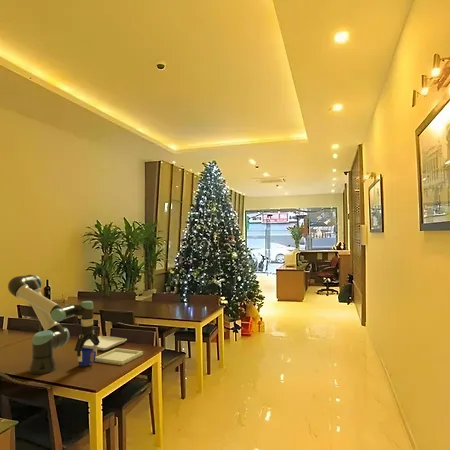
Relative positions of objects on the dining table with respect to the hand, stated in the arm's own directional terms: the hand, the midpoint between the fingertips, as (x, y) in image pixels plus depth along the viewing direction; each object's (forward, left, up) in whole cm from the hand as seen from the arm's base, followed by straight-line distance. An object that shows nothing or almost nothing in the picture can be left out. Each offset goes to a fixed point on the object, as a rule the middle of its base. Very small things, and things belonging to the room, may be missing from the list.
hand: (87, 358), depth 241 cm
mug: (0, 0, -5) cm, 5 cm away
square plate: (+41, +22, -5) cm, 47 cm away
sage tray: (+20, -10, -5) cm, 23 cm away
